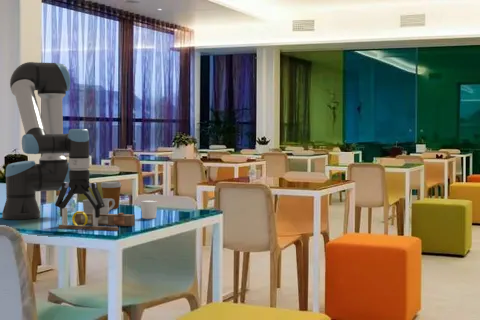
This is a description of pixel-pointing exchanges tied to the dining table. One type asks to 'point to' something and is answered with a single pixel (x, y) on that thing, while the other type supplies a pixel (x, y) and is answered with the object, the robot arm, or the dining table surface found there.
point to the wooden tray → (102, 221)
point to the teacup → (104, 210)
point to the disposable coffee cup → (111, 192)
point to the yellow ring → (83, 214)
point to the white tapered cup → (149, 209)
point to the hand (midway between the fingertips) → (80, 225)
